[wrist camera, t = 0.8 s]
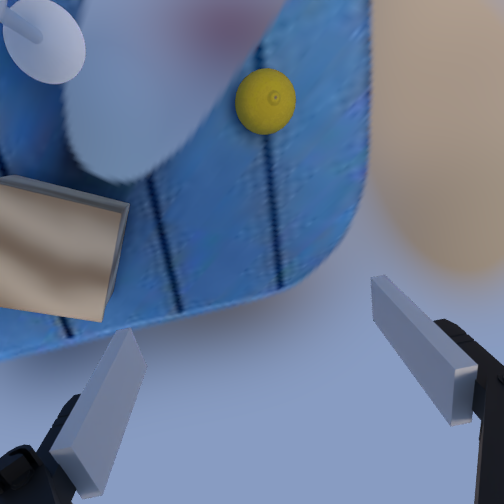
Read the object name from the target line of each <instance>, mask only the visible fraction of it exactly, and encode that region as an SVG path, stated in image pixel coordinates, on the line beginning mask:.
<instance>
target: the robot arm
mask: <svg viewBox="0 0 504 504" xmlns="http://www.w3.org/2000/svg"><path fill="white" fill-rule="evenodd" d="M371 292H372V310H373V321H374V322H375V323H376V325H377V326H378V327H379V329H380V330H381V332H382V333H383V334H384V336H385V337H386V339H387V340H388V341H389V342H390V344H391V345H392V347H393V348H394V349H395V351H396V352H397V354H398V355H399V356H400V358H401V359H402V360H403V362H404V363H405V365H406V366H407V367H408V369H409V370H410V371H411V373H412V374H413V375H414V377H415V378H416V379H417V381H418V382H419V384H420V385H421V386H422V388H423V389H424V390H425V392H426V393H427V394H428V396H429V397H430V399H431V400H432V401H433V403H434V404H435V405H436V407H437V408H438V410H439V411H440V412H441V414H442V415H443V417H444V418H445V419H446V421H447V422H448V423H449V425H450V426H455V425H460V424H465V423H470V422H472V414H473V411H474V413H475V414H476V415H477V416H478V417H479V418H480V420H481V427H480V435H479V453H478V465H477V476H476V489H475V501H474V504H504V366H503V365H502V364H501V363H500V362H499V361H497V360H496V359H495V358H494V357H493V356H492V355H491V354H490V353H488V352H487V351H486V350H485V349H484V348H483V347H482V346H481V345H479V344H478V343H477V342H476V341H474V339H473V338H471V337H470V336H469V335H467V334H466V332H465V331H464V330H462V329H461V328H460V327H459V326H458V325H456V324H454V323H452V322H450V321H448V320H446V319H440V320H436V321H432V320H431V319H430V318H429V317H428V316H427V315H426V314H425V313H424V312H423V311H422V310H421V309H420V308H419V307H418V306H417V305H416V304H415V303H414V302H413V301H411V299H409V298H408V297H407V296H406V295H405V294H404V293H403V292H402V291H401V290H400V289H399V288H398V287H397V286H396V285H395V284H394V283H393V282H392V281H391V280H390V279H389V278H388V277H387V276H385V275H381V276H377V277H371ZM146 368H147V364H146V362H145V360H144V358H143V355H142V353H141V351H140V349H139V346H138V344H137V342H136V339H135V337H134V335H133V332H132V330H131V328H126V329H121V330H117V331H116V333H115V334H114V336H113V338H112V340H111V342H110V343H109V345H108V347H107V349H106V350H105V353H104V354H103V356H102V358H101V359H100V361H99V363H98V365H97V367H96V369H95V370H94V372H93V374H92V376H91V377H90V379H89V381H88V383H87V384H86V387H85V388H84V390H83V392H82V393H81V394H78V395H74V396H73V397H72V398H71V399H70V400H69V401H68V402H67V403H66V404H65V405H64V407H63V408H62V410H61V412H60V413H59V415H58V418H57V419H56V420H55V422H54V424H53V425H52V428H50V430H49V432H48V434H47V435H46V437H45V438H44V440H43V442H42V444H41V445H40V447H39V449H38V450H37V452H35V451H34V450H33V448H32V447H31V446H30V445H22V446H18V447H16V448H14V449H12V450H10V451H9V452H7V453H6V454H5V455H3V456H2V457H1V458H0V504H72V502H71V500H72V498H73V496H74V493H75V491H76V490H77V492H78V493H79V495H80V496H81V498H82V499H86V498H92V497H96V496H102V495H103V492H104V489H105V487H106V484H107V481H108V478H109V475H110V472H111V469H112V466H113V464H114V461H115V458H116V455H117V452H118V449H119V446H120V443H121V441H122V438H123V435H124V432H125V429H126V426H127V423H128V421H129V418H130V414H131V412H132V409H133V406H134V403H135V400H136V397H137V394H138V392H139V389H140V386H141V383H142V380H143V377H144V374H145V371H146Z"/></svg>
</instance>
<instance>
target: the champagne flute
mask: <svg viewBox="0 0 504 504" xmlns="http://www.w3.org/2000/svg"><path fill="white" fill-rule="evenodd" d="M0 22H1V23H2V24H3V37H4V42H5V45H6V48H7V50H8V52H9V54H10V56H11V58H12V59H13V61H14V62H15V64H16V65H17V66H18V67H19V68H20V69H21V70H22V71H23V72H25V73H26V74H27V75H28V76H30V77H32V78H34V79H36V80H38V81H41V82H43V83H48V84H61V83H65V82H68V81H70V80H71V79H73V78H74V77H75V76H76V75H78V73H79V72H80V70H81V69H82V67H83V64H84V61H85V56H86V50H85V49H86V48H85V41H84V37H83V35H82V32H81V29H80V28H79V26H78V24H77V23H76V21H75V20H74V19H73V17H72V16H71V15H70V14H69V13H68V12H67V11H66V10H65V9H64V8H62V7H61V6H59V5H58V4H56V3H55V2H52V1H50V0H20V1H18V2H16V3H15V4H14V5H13V6H11V7H10V8H8V7H7V0H0Z"/></svg>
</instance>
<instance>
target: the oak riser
mask: <svg viewBox="0 0 504 504" xmlns="http://www.w3.org/2000/svg"><path fill="white" fill-rule="evenodd" d="M129 207H130V203H126V202H122V201H118V200H114V199H110V198H106V197H102V196H98V195H94V194H90V193H86V192H82V191H78V190H74V189H70V188H66V187H62V186H58V185H54V184H50V183H47V182H43V181H39V180H35V179H31V178H27V177H23V176H19V175H10V176H5V177H0V307H4V308H10V309H17V310H23V311H30V312H36V313H43V314H50V315H56V316H63V317H69V318H76V319H82V320H89V321H95V322H102V320H103V316H104V311H105V307H106V305H107V303H108V301H109V299H110V297H111V295H112V294H113V290H114V285H115V280H116V275H117V269H118V264H119V259H120V254H121V249H122V243H123V238H124V233H125V228H126V222H127V217H128V212H129Z"/></svg>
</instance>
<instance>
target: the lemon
mask: <svg viewBox="0 0 504 504" xmlns="http://www.w3.org/2000/svg"><path fill="white" fill-rule="evenodd" d="M295 103H296V96H295V90H294V88H293V85H292V83H291V82H290V80H289V79H288V78H287V77H286V76H285V75H284V74H283V73H281V72H279V71H277V70H274V69H269V68H266V69H259V70H256V71H254V72H252V73H250V74H249V75H248V76H247V77H245V78H244V80H243V81H242V82H241V84H240V85H239V88H238V90H237V92H236V98H235V108H236V112H237V116H238V118H239V120H240V121H241V123H242V124H243V125H244V126H245V127H246V128H247V129H248V130H250V131H252V132H253V133H257V134H263V135H268V134H272V133H275V132H277V131H279V130H280V129H282V128H283V127H284V126H285V125H286V124H287V123H288V122H289V120H290V119H291V117H292V115H293V112H294V109H295Z"/></svg>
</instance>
